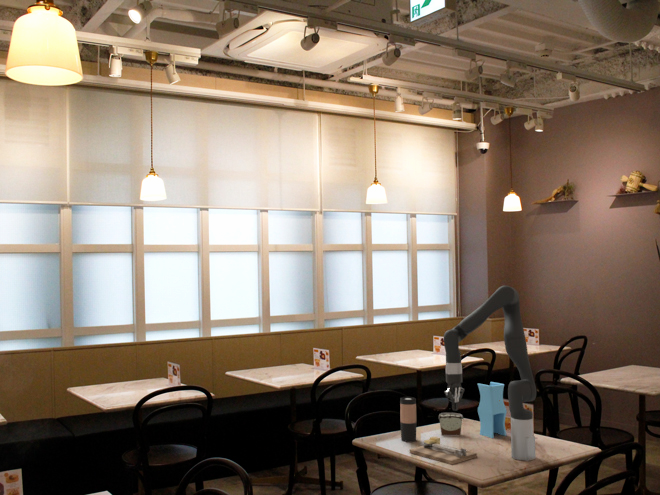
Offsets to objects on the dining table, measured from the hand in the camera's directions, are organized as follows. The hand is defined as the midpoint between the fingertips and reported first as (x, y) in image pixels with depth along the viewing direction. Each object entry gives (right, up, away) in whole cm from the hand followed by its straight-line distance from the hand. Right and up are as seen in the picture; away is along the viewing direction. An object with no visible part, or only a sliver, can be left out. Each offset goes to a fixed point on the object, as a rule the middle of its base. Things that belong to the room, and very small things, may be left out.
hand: (455, 410), depth 302 cm
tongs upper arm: (-8, -14, -13) cm, 20 cm away
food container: (+2, -18, +24) cm, 30 cm away
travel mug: (-20, -18, +13) cm, 30 cm away
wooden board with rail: (-8, -17, -13) cm, 22 cm away
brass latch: (-12, -15, -7) cm, 20 cm away
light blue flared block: (+23, -18, +22) cm, 36 cm away
